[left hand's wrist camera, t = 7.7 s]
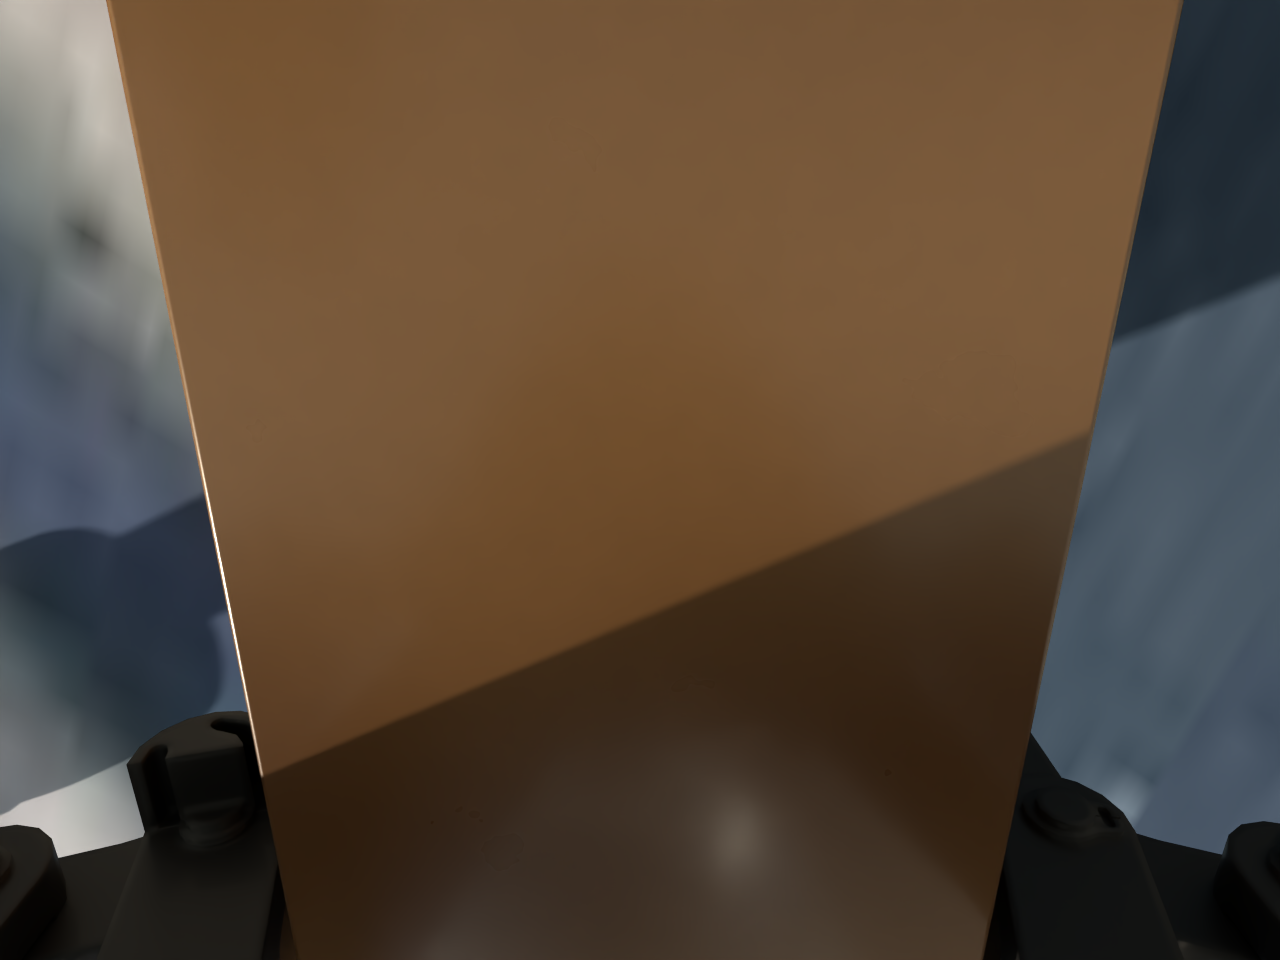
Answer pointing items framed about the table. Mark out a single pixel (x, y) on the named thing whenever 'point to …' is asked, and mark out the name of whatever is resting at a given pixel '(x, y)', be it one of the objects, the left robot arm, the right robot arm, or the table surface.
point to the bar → (642, 444)
